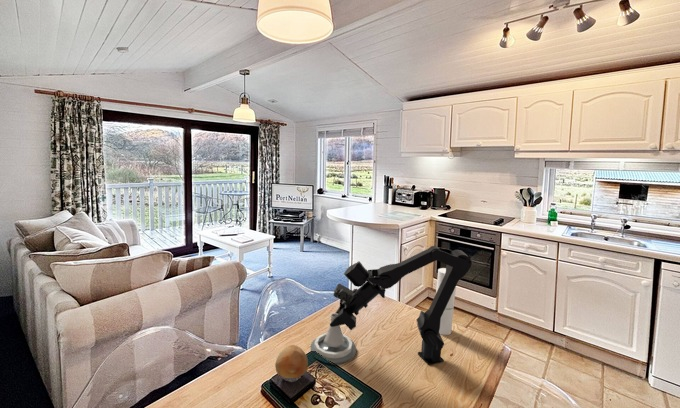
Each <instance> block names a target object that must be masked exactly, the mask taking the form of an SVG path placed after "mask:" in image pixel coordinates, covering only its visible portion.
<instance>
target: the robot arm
mask: <svg viewBox="0 0 680 408" xmlns="http://www.w3.org/2000/svg"><path fill="white" fill-rule="evenodd" d="M471 259H472V258H470V256H468V255H467V254H466V252H464V251H463V250H461V249H454V250H452V249H449V248H443V247H438V246H436V245H432V246H429V248H427V249H424V250H423V251H421V252H419V253H417V254H416V253H415V254H414V255H412V256H410V257H408V258H405V260H403V261H400V262H398V263H391V264H386V265H384V266H381V267H379V268H377V269H376V268H374V269H368V270H367V269H366V267H364V265H363V264H362V262H361V261H357V262H355V263H353V264H351V265H350V266H349V267H348V268H346V270H345V271H344V273H343V275H344V276H345V277H346V278H347V279H348V280H349V282H351V284H353V286H354V287H357V288H353V290H352V289H350V288H348V287H347V286H345V285H344V284H341V283H337V285H336V287H335V289H334V290H333V295H332V296H333V297H334V298H336V299H338V300H339V306H338V309H337V310H336V311H335V313H337V314H338V315H337V316H336V317H335V319H334V320H333V321H332V322H331V321H330V323H329V327H330V326H331V327H334V326H339V325H340V326H344V325H345V326H346V327H347V328H348V330H350V331H353V330H354V329H355V328H356V327H357V316H358V315H359V311H361V310H362V309H363V308H365V309H366V308H368V306H369V305H368V304H369V303H370V302H371V301H373V300H374V299H375V298H376V297H378V296H381V298H382V299H385V297H386V296H385V293H386V290H388V289H391V288H392V287H393V286H395V285H396V284H398V283H399V282H400V281H401V279H403V278H404V277H405V276H407V275H409V274H411V273H413V272H415V271H417V270H419V269H421V268H424V267H426V266H428V265H430V264H432V263H434V262H436V261H437V262H440V263H442V264H444V265H446V266H445V268H446V273H445V276H444V278H443V280H442V282H441V284H440V286H439V288H438V291H437V293H436V292H435V295H434V296H433V298H432V301H431V303H430V306H429V308H428V309H427V310H426V311H423V310H420V313H419V316H418V317H417V318H416V325H417V329H418V331H419V335H420V337H421V339H422V340H421V350H420V351H418V352H417V355H418V356H419V357H420V358H421V359H422V360H423V361H424V362H425V363H426V364H427V365H429V366H430V365H434V364H440V363H443V362H445V359H444V358H443V357H441V355H442V349H443V348H444V345H445V342H444V340H443V338H442V336H441V335H442V334H440V333H439V330H440V321H441V316H442V314H443V312H444V310H445V308H446V306H447V304H448V302H449V300H450V298H451V295H452V293H453V291H454V289H455V287H456V288H457V285H458V283H459V282H460V280H461V279H463V278H464V277H465V276H467V274H468V273H469V272H470V270H471V268H472V266H473V262H472V260H471Z"/></svg>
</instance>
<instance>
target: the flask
mask: <svg viewBox="0 0 680 408" xmlns="http://www.w3.org/2000/svg"><path fill="white" fill-rule="evenodd" d="M337 315H338V314H337V313H336V312H335V313H334V312H333V313H331V314H330V315H329V316H330V323H331V322H332V321H333V320H334V319H335V317H336V316H337ZM326 333H327V335H326V337H325V339H324V343H325V344H326V345H327V346H330V347H335V348H337V347H339V346H342V345H343V343H344V341H345V340H344V337H343V332H342V328H341V325H339V326H334V327H331V326H330V325H329V328H328V330H327V332H326Z"/></svg>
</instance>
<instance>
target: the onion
mask: <svg viewBox="0 0 680 408" xmlns="http://www.w3.org/2000/svg"><path fill="white" fill-rule="evenodd" d="M308 364H309V363H308V355H307V354H306V353H305V351H304V350H303V349H302V348H301V347H299V346H298V345H295V344H294V345H293V344H292V345H288V346H286V347H284V348H283V349H282V350H281V351H280V352H279V353H278V356H277V357H276V361H275V365H274V366H275V371H276V374H277V375H278V376H279V375H280V376H282V377H284V378H297V377H300V376H301V375H303V374H304V373H305V372H306V373H307V371H308V367H309V365H308ZM306 373H305V374H306ZM305 374H304V375H305Z"/></svg>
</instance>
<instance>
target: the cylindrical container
mask: <svg viewBox="0 0 680 408" xmlns="http://www.w3.org/2000/svg"><path fill="white" fill-rule="evenodd" d="M445 273H446V267H440V268H438V269H437V278H436V280H437V281H436V289H435V290H436V291H435V294H436V293H437V291H438V288H439V286H440V284H441V282H442V280H443V278H444V276H445ZM456 288H457V286H456V287H455V289H454V291H453V293H452V295H451V298H450V300H449V302H448V304H447V306H446V308H445V310H444V312H443V314H442V316H441V321H440V330H439V333H440V335H442V336H447V335H448V336H449V335H451V333H452V326H453V318H454V309H455V308H454V307H455V299H456Z"/></svg>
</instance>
